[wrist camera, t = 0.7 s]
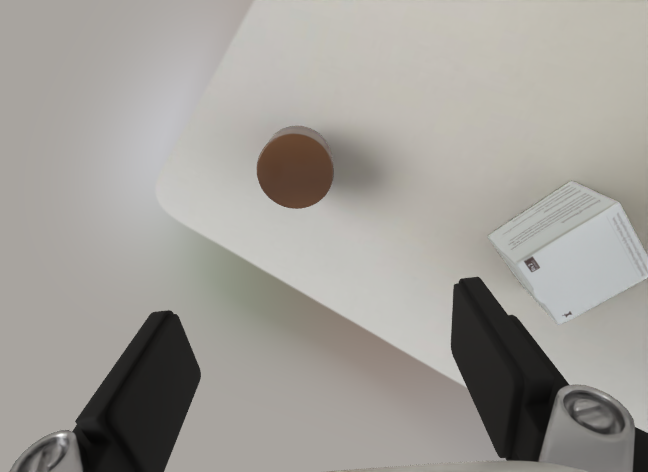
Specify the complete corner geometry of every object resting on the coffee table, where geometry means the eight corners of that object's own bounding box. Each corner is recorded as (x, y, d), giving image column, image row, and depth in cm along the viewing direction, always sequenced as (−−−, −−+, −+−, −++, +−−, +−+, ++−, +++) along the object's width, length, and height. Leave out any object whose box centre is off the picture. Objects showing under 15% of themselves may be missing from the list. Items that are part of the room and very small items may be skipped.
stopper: (263, 124, 25) (248, 139, 20) (327, 116, 25) (328, 128, 20) (275, 186, 27) (265, 213, 22) (335, 179, 27) (337, 204, 22)
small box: (608, 243, 30) (660, 275, 25) (524, 291, 32) (558, 329, 27) (572, 177, 27) (623, 200, 22) (483, 234, 29) (513, 266, 25)
